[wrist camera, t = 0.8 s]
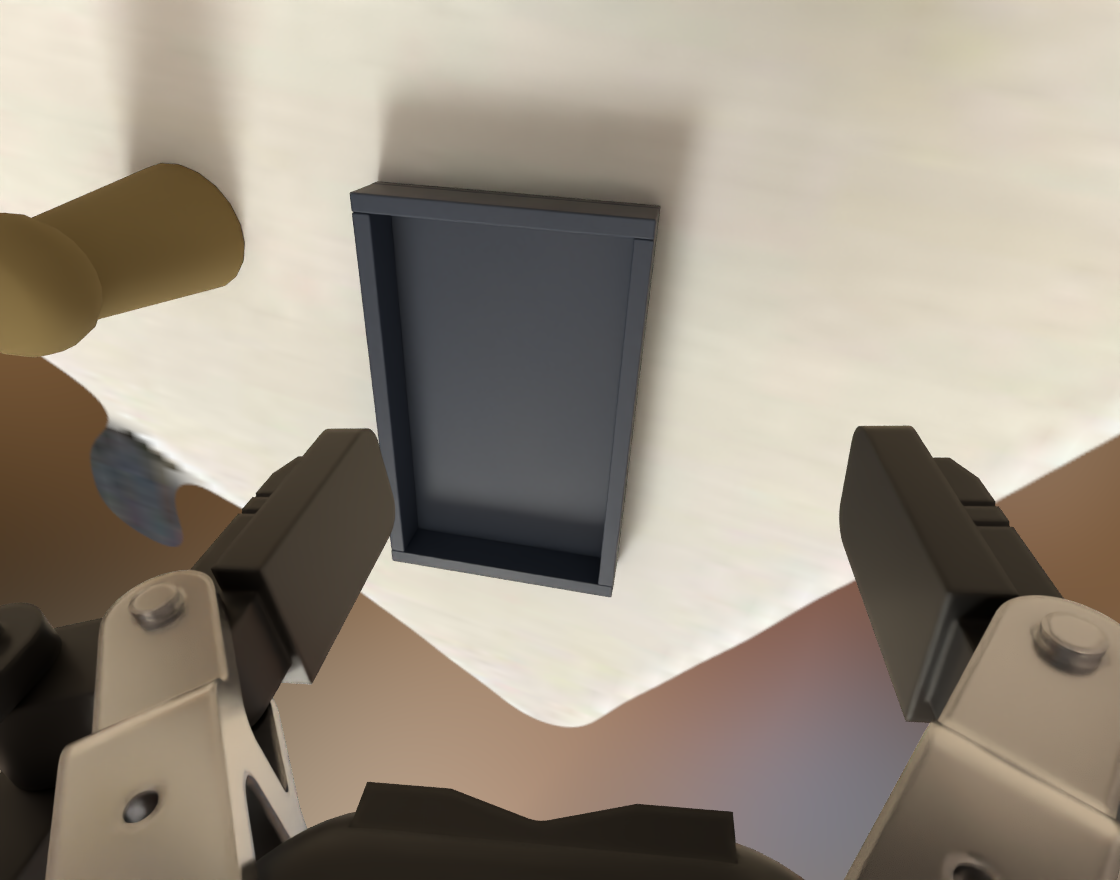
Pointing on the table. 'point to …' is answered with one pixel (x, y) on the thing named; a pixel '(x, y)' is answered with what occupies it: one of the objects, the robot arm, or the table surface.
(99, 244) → the cork
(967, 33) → the table surface
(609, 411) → the pan
